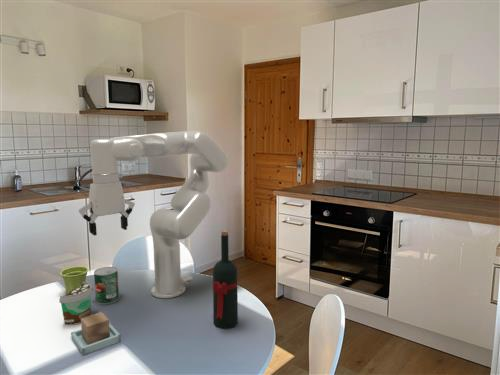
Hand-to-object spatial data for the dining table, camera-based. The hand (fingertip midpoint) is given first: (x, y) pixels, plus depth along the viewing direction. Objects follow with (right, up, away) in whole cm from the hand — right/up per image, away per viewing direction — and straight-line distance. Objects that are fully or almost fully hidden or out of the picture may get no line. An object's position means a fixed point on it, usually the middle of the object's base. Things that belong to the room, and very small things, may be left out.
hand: (109, 231), depth 122 cm
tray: (0, -30, -11) cm, 32 cm away
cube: (0, -30, -11) cm, 32 cm away
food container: (-10, -29, +2) cm, 30 cm away
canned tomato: (-6, -26, +15) cm, 31 cm away
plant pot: (-20, -25, +21) cm, 38 cm away
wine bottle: (+37, -29, -2) cm, 47 cm away
